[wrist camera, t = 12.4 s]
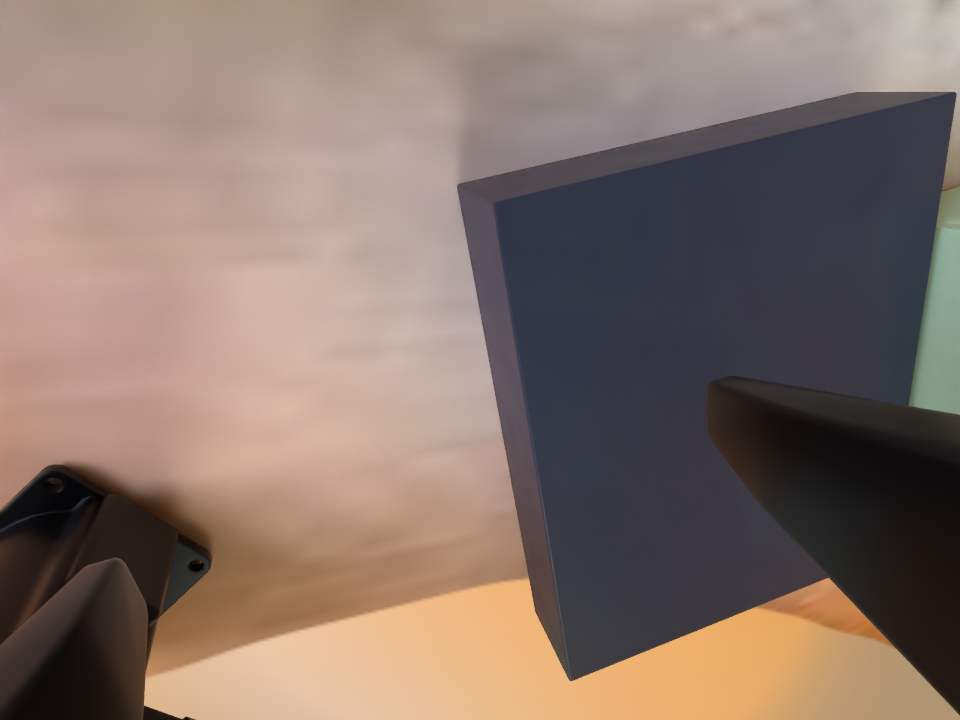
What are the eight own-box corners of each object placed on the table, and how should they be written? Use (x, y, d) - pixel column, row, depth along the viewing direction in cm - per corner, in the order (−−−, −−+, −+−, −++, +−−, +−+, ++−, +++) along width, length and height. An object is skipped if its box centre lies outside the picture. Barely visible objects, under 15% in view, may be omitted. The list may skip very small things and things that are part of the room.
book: (534, 611, 29) (569, 682, 26) (456, 184, 21) (492, 202, 17) (820, 504, 32) (886, 554, 29) (856, 91, 24) (958, 91, 20)
